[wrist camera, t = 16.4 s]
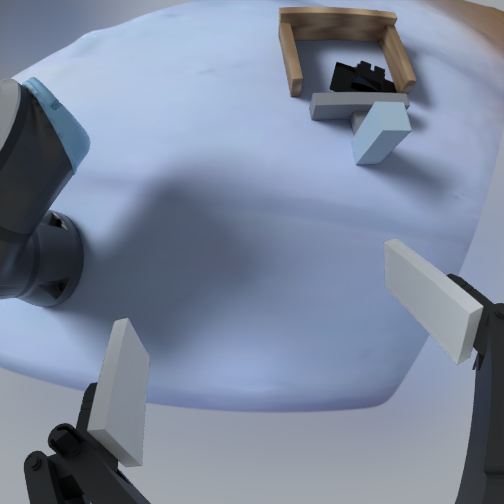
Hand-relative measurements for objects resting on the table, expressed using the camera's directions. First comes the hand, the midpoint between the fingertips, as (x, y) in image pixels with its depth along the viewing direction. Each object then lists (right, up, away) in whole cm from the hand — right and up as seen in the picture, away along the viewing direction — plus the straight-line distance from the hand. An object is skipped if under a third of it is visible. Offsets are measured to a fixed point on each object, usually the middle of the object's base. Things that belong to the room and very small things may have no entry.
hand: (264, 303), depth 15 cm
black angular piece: (+17, +28, +28) cm, 43 cm away
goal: (+14, +33, +28) cm, 46 cm away
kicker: (+15, +19, +27) cm, 37 cm away
